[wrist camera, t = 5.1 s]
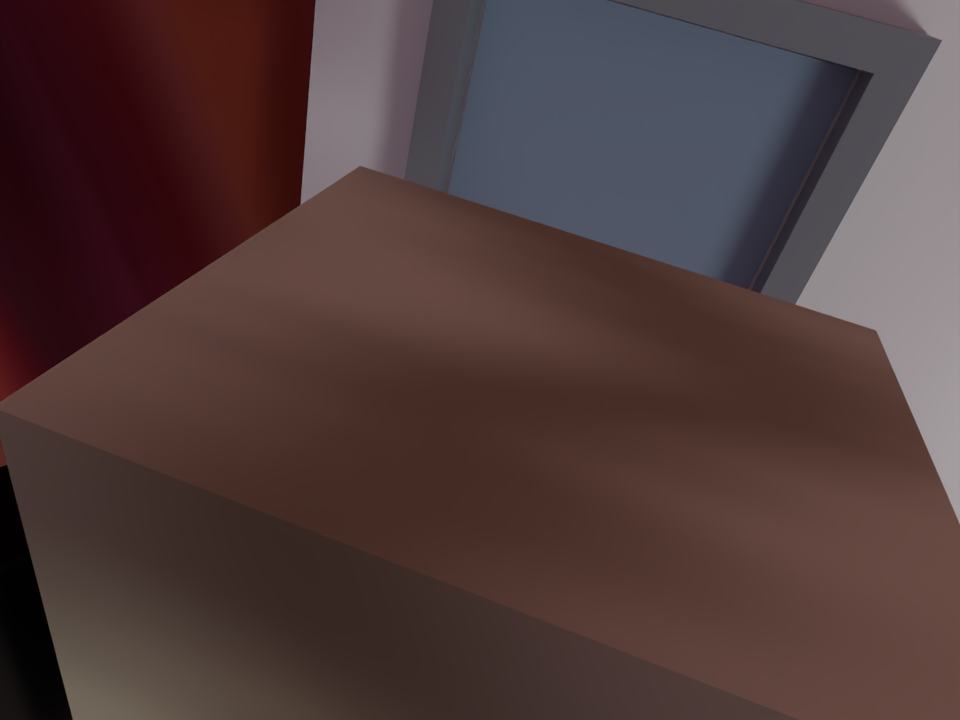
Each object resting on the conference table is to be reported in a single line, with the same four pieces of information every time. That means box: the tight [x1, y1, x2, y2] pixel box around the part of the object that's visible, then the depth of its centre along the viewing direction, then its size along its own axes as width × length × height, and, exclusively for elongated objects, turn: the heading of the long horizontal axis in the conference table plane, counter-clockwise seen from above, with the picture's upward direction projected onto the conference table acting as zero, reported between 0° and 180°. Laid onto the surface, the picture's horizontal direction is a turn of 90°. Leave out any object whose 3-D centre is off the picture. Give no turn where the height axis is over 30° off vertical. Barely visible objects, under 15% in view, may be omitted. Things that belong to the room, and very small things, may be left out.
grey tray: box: [301, 0, 960, 523], centre depth 17 cm, size 20×12×3 cm, turn 78°
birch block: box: [0, 166, 960, 720], centre depth 7 cm, size 6×6×5 cm
